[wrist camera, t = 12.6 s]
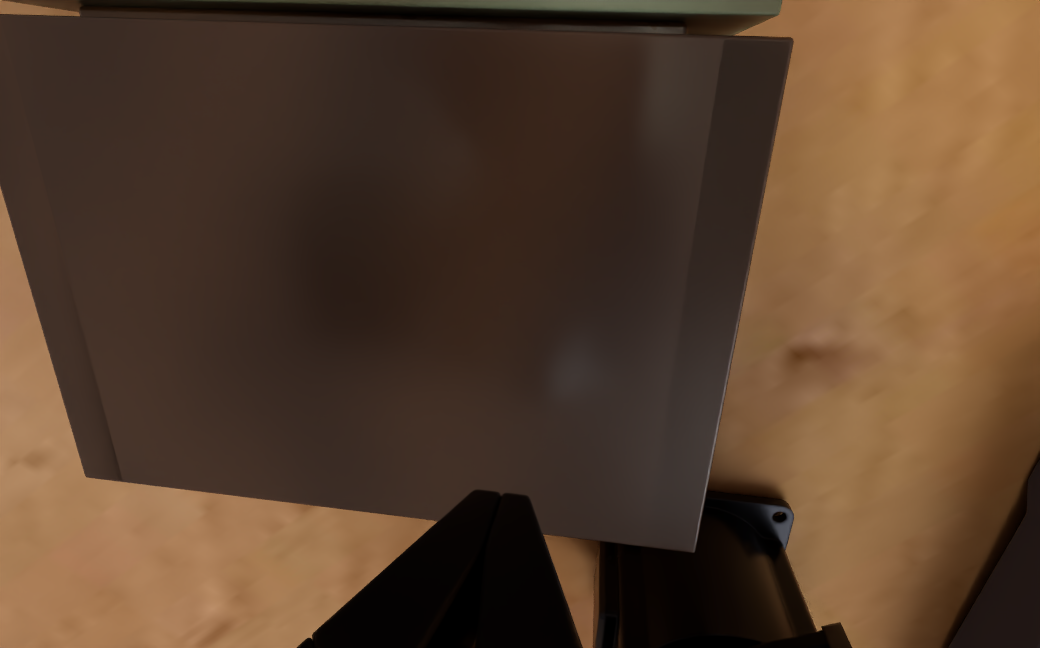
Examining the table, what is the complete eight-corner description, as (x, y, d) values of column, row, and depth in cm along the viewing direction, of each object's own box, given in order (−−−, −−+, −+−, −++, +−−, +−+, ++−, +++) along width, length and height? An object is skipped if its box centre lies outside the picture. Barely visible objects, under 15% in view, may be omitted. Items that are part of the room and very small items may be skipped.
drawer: (745, -61, 10) (806, -127, 7) (671, 414, 14) (690, 505, 11) (109, -69, 12) (-68, -126, 9) (193, 366, 16) (89, 435, 12)
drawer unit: (692, 67, 17) (795, 37, 8) (654, 348, 20) (695, 554, 11) (271, 52, 18) (-53, 12, 9) (300, 317, 22) (84, 478, 13)
